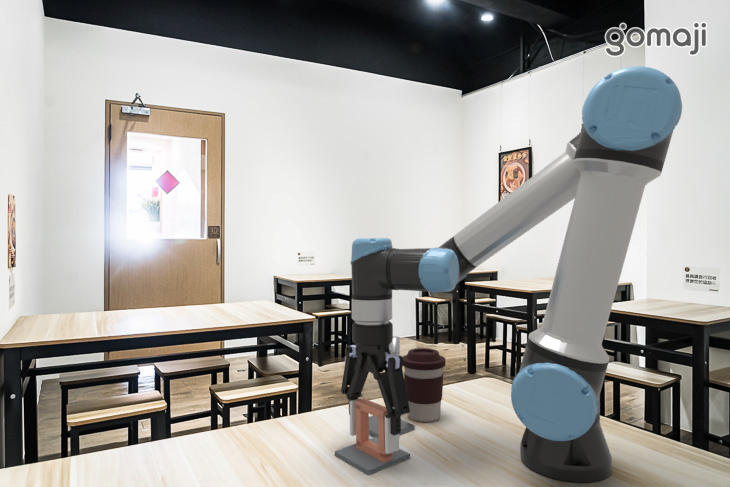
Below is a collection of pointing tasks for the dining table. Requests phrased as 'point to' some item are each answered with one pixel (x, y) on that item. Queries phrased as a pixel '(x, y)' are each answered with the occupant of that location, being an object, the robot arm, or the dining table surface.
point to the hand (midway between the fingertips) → (373, 442)
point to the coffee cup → (424, 383)
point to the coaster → (369, 458)
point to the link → (362, 429)
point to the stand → (405, 426)
